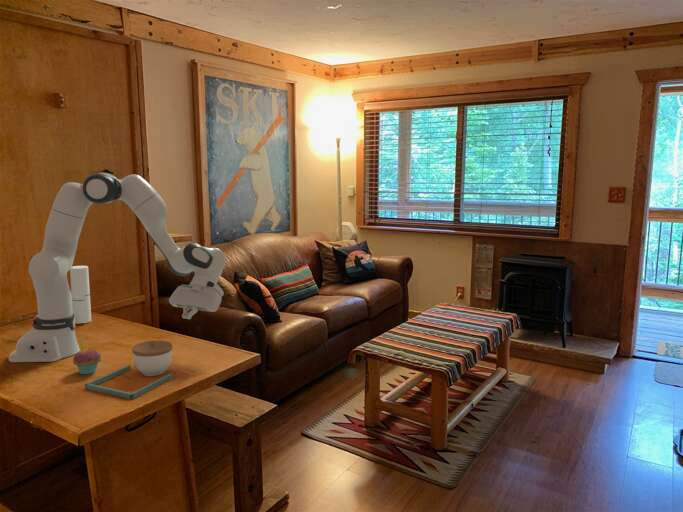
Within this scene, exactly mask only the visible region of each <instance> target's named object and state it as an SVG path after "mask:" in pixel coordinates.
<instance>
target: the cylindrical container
mask: <svg viewBox="0 0 683 512" xmlns="http://www.w3.org/2000/svg"><path fill="white" fill-rule="evenodd" d="M69 271H70V275H69V276H70V291H71V294H72V309H73V314H74V318H75V323H87V322H90V321H91V322H92V311H91V310H92V308H91V307H92V306H91V295H90V294H91V293H90V291H91V289H90V288H91V287H90V273H89V266H88V265H74V266H73V265H72V267H71V269H70V270H69Z"/></svg>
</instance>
